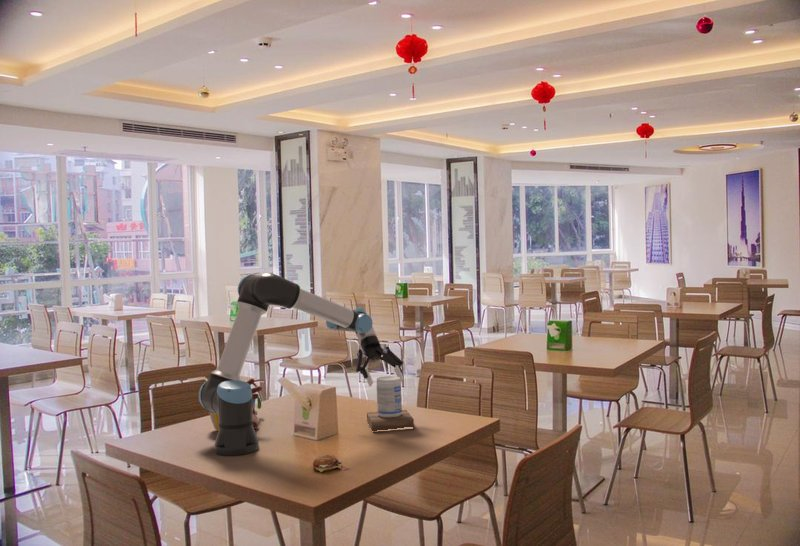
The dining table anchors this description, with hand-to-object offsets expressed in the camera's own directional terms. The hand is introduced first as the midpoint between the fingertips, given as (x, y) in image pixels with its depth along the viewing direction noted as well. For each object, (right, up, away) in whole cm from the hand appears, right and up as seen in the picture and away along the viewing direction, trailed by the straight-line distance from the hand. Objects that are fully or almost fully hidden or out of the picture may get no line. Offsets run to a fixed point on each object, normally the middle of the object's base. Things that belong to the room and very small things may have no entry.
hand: (386, 382), depth 272 cm
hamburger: (-16, -19, -53) cm, 59 cm away
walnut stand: (+1, -17, -2) cm, 17 cm away
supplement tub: (+1, -13, -2) cm, 13 cm away
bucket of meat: (-67, -12, -5) cm, 69 cm away
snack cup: (-59, -18, +15) cm, 64 cm away
